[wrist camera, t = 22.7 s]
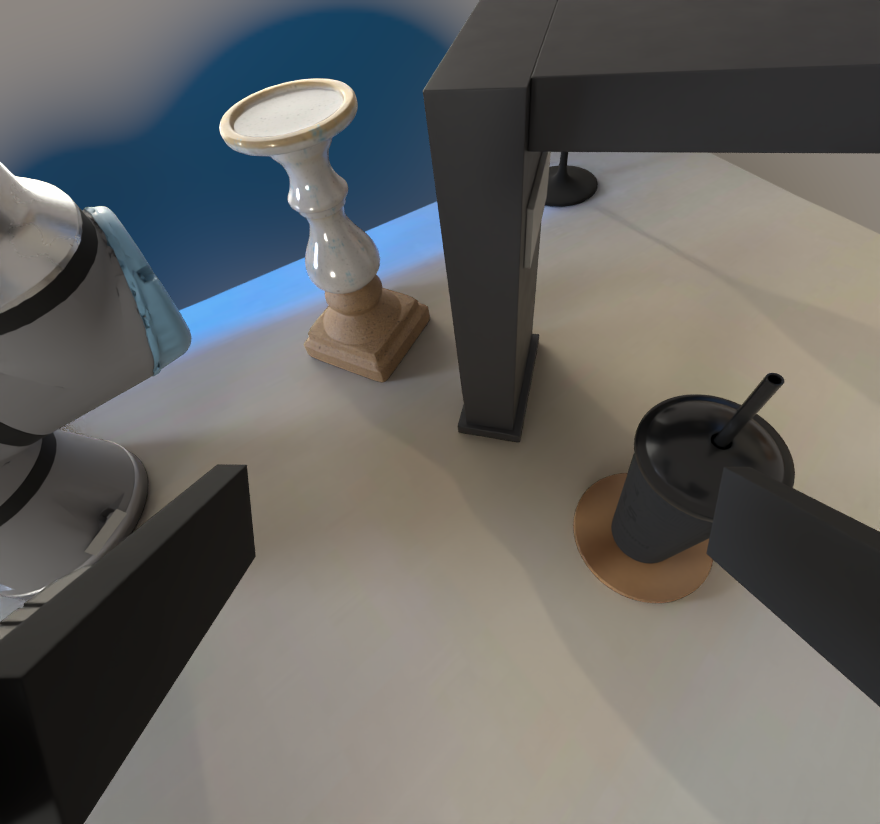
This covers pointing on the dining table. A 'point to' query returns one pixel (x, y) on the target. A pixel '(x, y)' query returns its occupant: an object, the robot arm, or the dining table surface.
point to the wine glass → (569, 184)
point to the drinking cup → (692, 468)
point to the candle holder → (328, 225)
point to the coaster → (619, 569)
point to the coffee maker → (614, 132)
